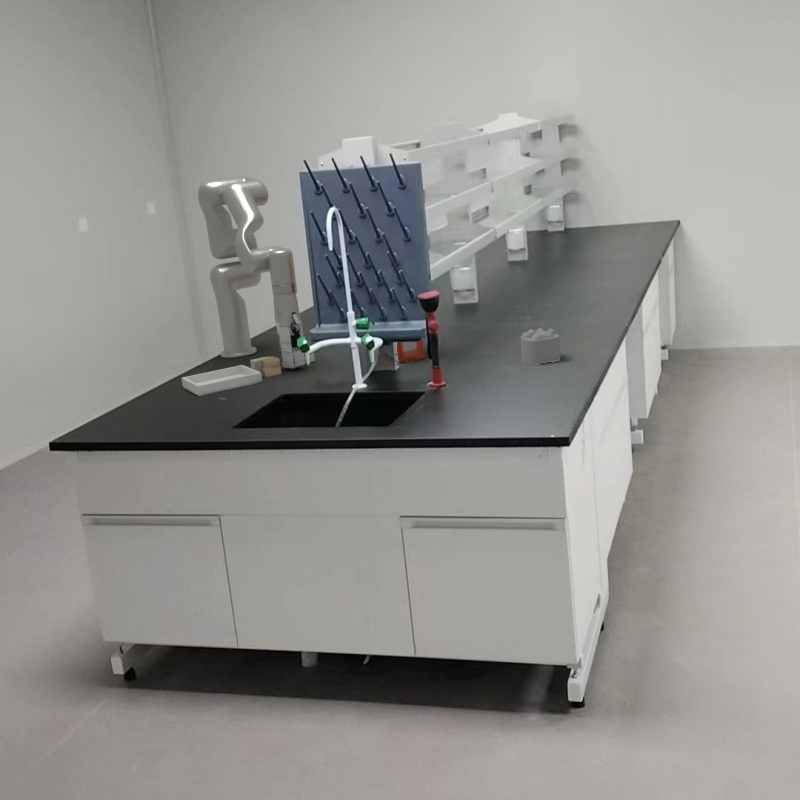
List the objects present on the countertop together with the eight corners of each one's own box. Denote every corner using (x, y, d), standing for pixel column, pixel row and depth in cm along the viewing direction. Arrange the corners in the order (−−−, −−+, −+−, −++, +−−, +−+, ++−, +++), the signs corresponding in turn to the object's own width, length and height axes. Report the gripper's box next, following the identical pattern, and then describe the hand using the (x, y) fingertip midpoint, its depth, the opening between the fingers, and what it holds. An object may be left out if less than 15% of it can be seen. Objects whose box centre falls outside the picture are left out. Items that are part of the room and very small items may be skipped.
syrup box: (293, 363, 329) (288, 318, 325) (307, 364, 325) (301, 319, 321) (281, 367, 324) (275, 322, 320) (294, 369, 321) (288, 323, 317)
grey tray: (183, 387, 317) (181, 377, 316) (243, 374, 326) (242, 364, 325) (199, 396, 303) (197, 386, 302) (262, 382, 312) (261, 372, 311)
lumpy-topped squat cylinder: (529, 366, 297) (527, 336, 294) (516, 357, 309) (514, 329, 307) (564, 361, 298) (562, 331, 296) (550, 352, 310) (548, 324, 308)
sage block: (251, 372, 328) (250, 359, 327) (269, 368, 331) (267, 356, 330) (255, 374, 325) (254, 361, 324) (273, 370, 327) (272, 358, 326)
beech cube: (260, 374, 323) (258, 359, 321) (275, 371, 325) (273, 356, 324) (266, 377, 318) (264, 361, 317) (281, 374, 321) (279, 358, 319)
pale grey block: (296, 362, 334) (294, 344, 333) (310, 359, 337) (308, 341, 335) (303, 364, 330) (300, 346, 329) (317, 361, 332) (314, 343, 331)
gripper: (262, 288, 324) (270, 343, 329) (284, 294, 309) (291, 351, 314) (284, 284, 327) (291, 339, 332) (307, 290, 312) (314, 347, 317)
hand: (291, 344), depth 323 cm, fingers closed on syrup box, 7 cm apart
